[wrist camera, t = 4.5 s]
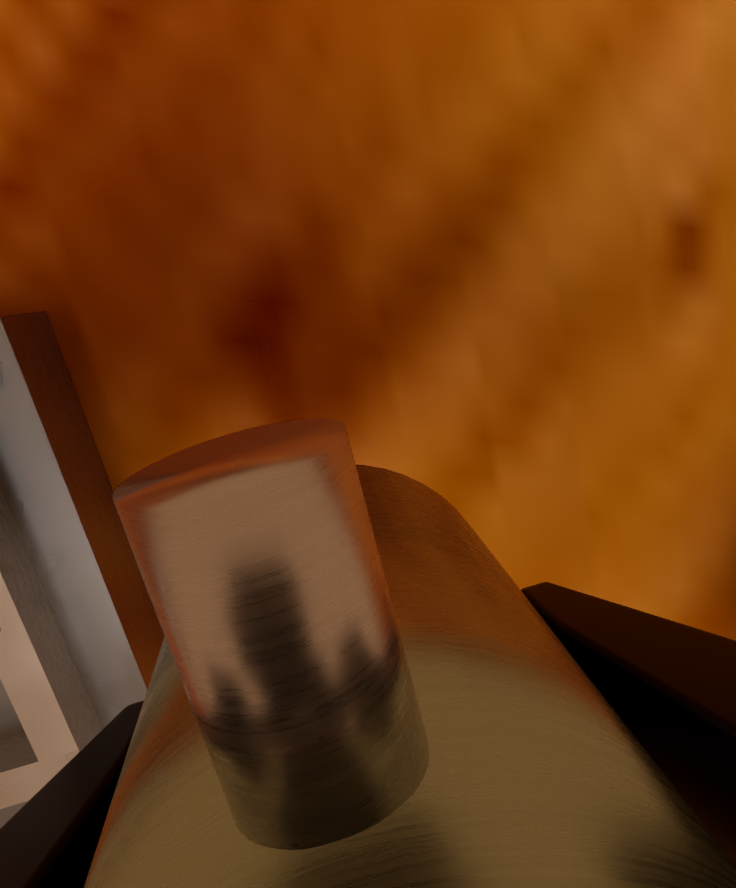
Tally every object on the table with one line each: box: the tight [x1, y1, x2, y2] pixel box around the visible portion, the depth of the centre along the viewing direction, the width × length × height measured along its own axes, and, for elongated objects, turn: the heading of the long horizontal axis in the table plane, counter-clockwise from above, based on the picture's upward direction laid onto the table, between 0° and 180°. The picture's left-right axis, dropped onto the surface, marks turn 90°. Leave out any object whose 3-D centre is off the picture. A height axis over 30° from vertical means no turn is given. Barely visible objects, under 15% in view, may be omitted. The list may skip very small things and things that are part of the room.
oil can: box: [84, 418, 736, 888], centre depth 6 cm, size 7×5×8 cm
